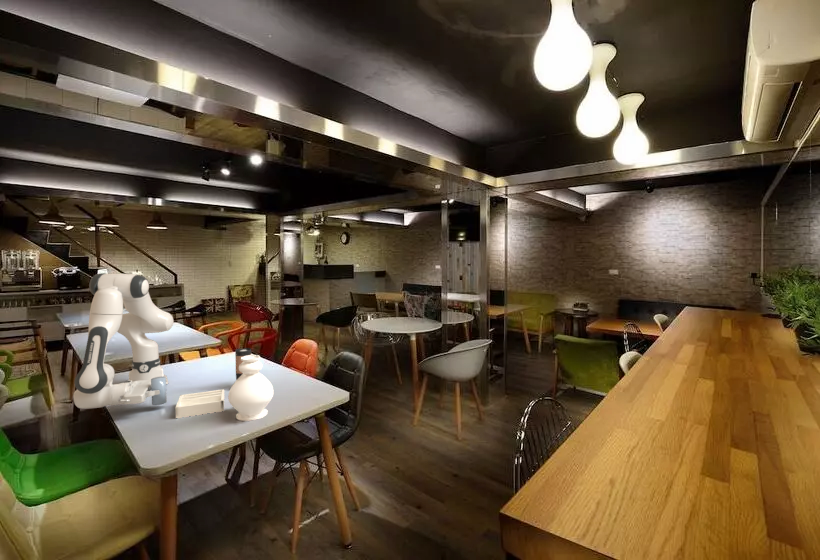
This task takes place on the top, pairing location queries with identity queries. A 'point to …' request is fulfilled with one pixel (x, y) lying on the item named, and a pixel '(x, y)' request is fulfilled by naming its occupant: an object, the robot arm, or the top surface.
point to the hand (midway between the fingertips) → (161, 389)
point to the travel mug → (239, 354)
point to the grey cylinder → (161, 385)
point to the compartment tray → (200, 403)
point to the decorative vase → (250, 390)
